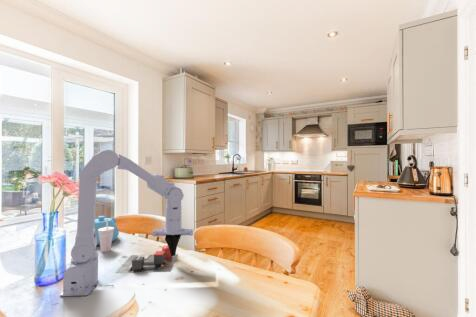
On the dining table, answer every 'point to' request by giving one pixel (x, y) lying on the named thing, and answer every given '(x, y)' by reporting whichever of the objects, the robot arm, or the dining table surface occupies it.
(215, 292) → the dining table surface
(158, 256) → the breaker tagged
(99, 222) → the teapot
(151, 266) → the breaker panel
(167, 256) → the lockout cap
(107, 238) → the smoothie
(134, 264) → the breaker plain
